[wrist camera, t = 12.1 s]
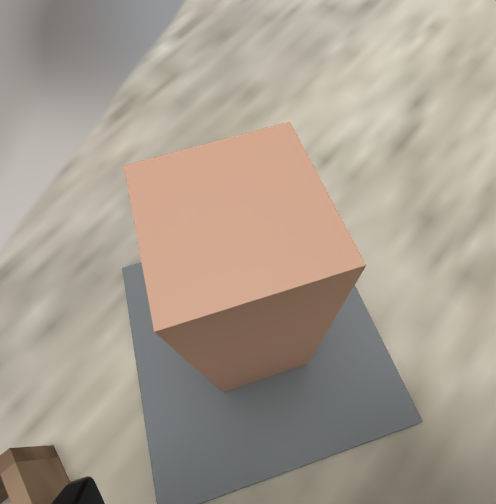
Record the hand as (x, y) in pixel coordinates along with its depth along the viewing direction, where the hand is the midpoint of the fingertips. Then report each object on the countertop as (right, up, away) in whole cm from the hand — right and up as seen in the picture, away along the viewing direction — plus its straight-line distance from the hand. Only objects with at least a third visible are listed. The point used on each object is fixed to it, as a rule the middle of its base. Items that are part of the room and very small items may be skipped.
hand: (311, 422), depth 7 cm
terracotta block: (-1, -1, +13) cm, 13 cm away
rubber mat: (-1, -2, +13) cm, 14 cm away
